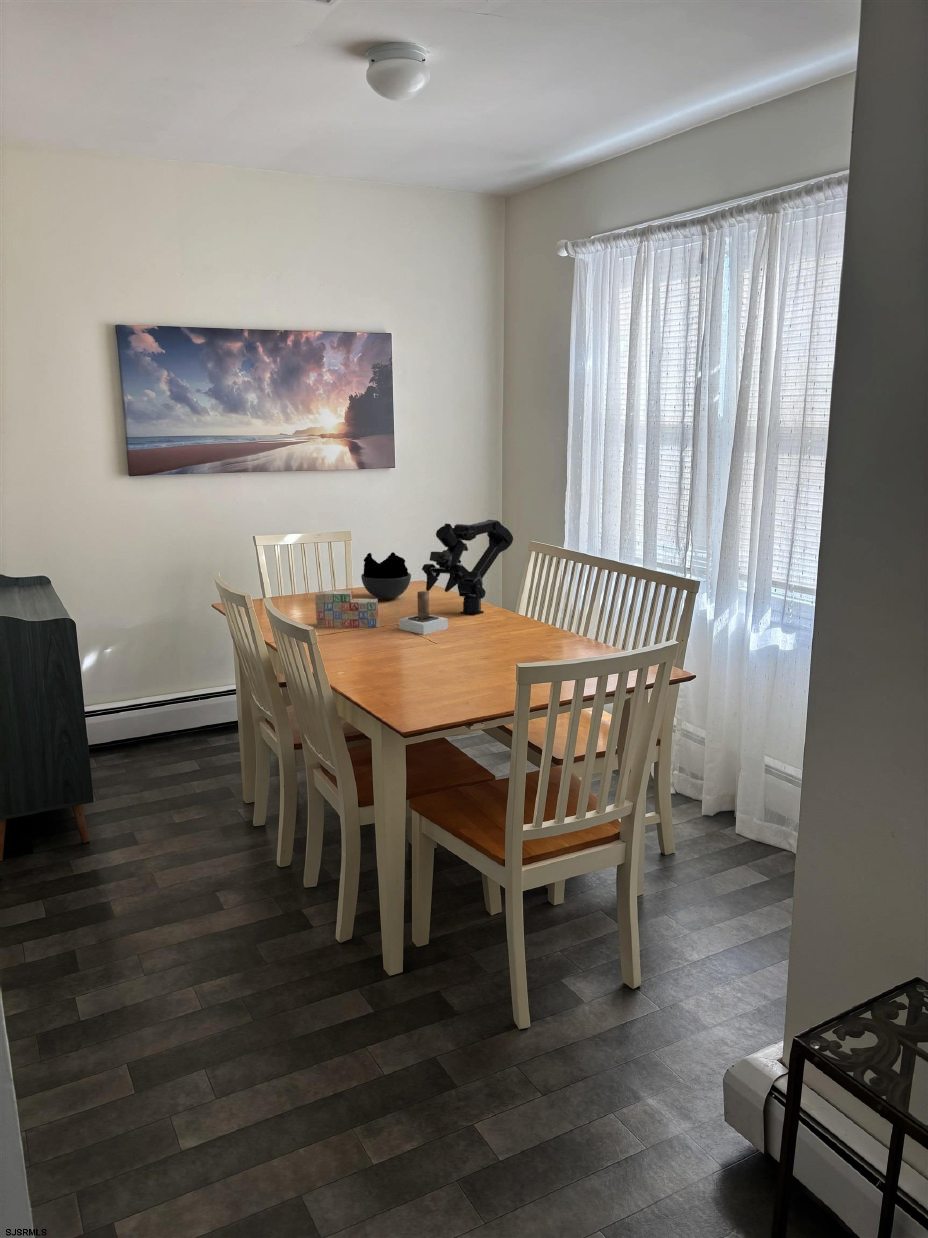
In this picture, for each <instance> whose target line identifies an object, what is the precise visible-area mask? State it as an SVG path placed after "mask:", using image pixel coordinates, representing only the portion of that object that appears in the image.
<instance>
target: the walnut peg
mask: <svg viewBox="0 0 928 1238" xmlns="http://www.w3.org/2000/svg"><path fill="white" fill-rule="evenodd" d="M416 595H417V596H416V597H417V598H416V599H417V615H418V619H420V620H426V619H429V615H430V591H427V590H421V591H417V594H416Z"/></svg>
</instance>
